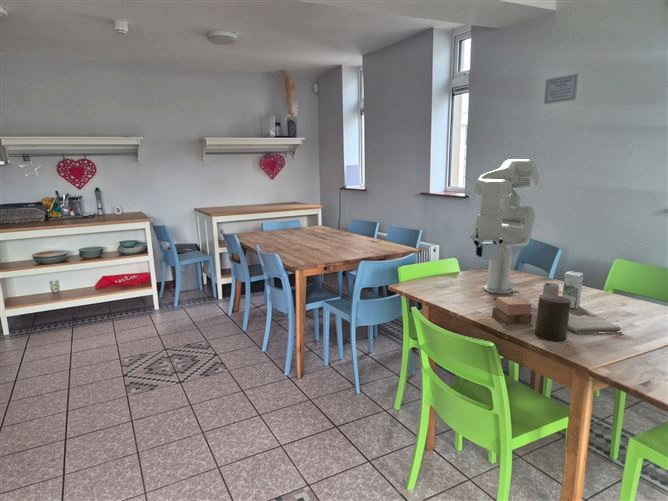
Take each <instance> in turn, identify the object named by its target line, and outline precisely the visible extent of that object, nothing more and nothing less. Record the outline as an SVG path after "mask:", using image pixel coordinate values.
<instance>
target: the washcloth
mask: <svg viewBox="0 0 668 501" xmlns="http://www.w3.org/2000/svg"><path fill="white" fill-rule="evenodd" d="M621 329H622V327H621V326H619V325H617V324H614V323H612V322H610V321H609V320H607V319H606V318H603V317H601V316H599V315H598V316H591V315H590V316H589V315H586V314H584V315H569V320H568V327H567V331H568V330H569V332H572V333H573V332H574V333H573V334H576V333H583V334H584V333H586V334H600V333H599V332H617V331H621Z"/></svg>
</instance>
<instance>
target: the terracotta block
mask: <svg viewBox="0 0 668 501" xmlns="http://www.w3.org/2000/svg"><path fill="white" fill-rule="evenodd" d="M495 299H496V300H495V307H497V308H498V309H499V310H501V311H502V312H504V313H505V314H507V315H520V314H532V303H531V302H529V301H528V300H525V299H524V298H522V297H520V296H496V297H495Z"/></svg>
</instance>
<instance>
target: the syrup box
mask: <svg viewBox="0 0 668 501" xmlns="http://www.w3.org/2000/svg"><path fill="white" fill-rule="evenodd" d="M583 281H584V273H583V272H579V271H578V272H577V271H573V270H567V271H566V272H565V273H564V280H563V287H562V288H563V289H562V295H561V296H562V297H566V298H569V299H570V300H571V304H570V309H572V308H574V309H573V310H577V309H578V308H579V307H580V304H581V295H582V288H583ZM576 308H577V309H576Z"/></svg>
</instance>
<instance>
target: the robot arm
mask: <svg viewBox="0 0 668 501" xmlns="http://www.w3.org/2000/svg"><path fill="white" fill-rule="evenodd" d="M537 167H538V166H537V164H536V163H535V162H534V160H532V159H528V158H521V159H519V158H511V159H507V160H505V161H504V162H502V163H501V165H500V166H499V168H498V169H497V168H496V169H494V170H491V171H488V172H486V173H483V174H481V175H480V176H479V178H478V179H477V180H476V182H475V184H474V188H473V190H474V194H475V196H477V197H479V198H480V207H479V210H480V212H479V214H477V216H476V221H475V226H474V230H473V233H472V234H471V235H470V236H469V239H470V240H471V242H472V243H473V244H474V245H475V247H476V248H475V255H477V256H479V257H481V256H482V247H481V245H482V243H483V242H484V241H489V242H492V243H495V244H497V245H498V255H497V259H496V260H488V271H487V284H485V285H484V284H483V290H484V291H486V292H488V293H492V294H501V295H503V294H504V295H505V294H507V295H508V294H511V293H512V292H513V287H519V286H520V283H519V282H518V281H517V282H516V281H514V282H513V281H510V277H511V267H512V266H511V265H512V258H513V256H512V255H513V254H512V252H511V249H510V248H509V246H518V247H525V246H528V244H529V243H530V242H531V237H532V232H533V229H534V224H535V218H536V211H535V209H534V208H533V207H532V206H530V205H523V204H522V205H521V202H522V198H521V196H520V195H519V193H518V192H517V191H516V190H514V189H535V188H536V187H537V186H538V184H539V181H540V180H539V179H540V176H539V171H538V168H537Z"/></svg>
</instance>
